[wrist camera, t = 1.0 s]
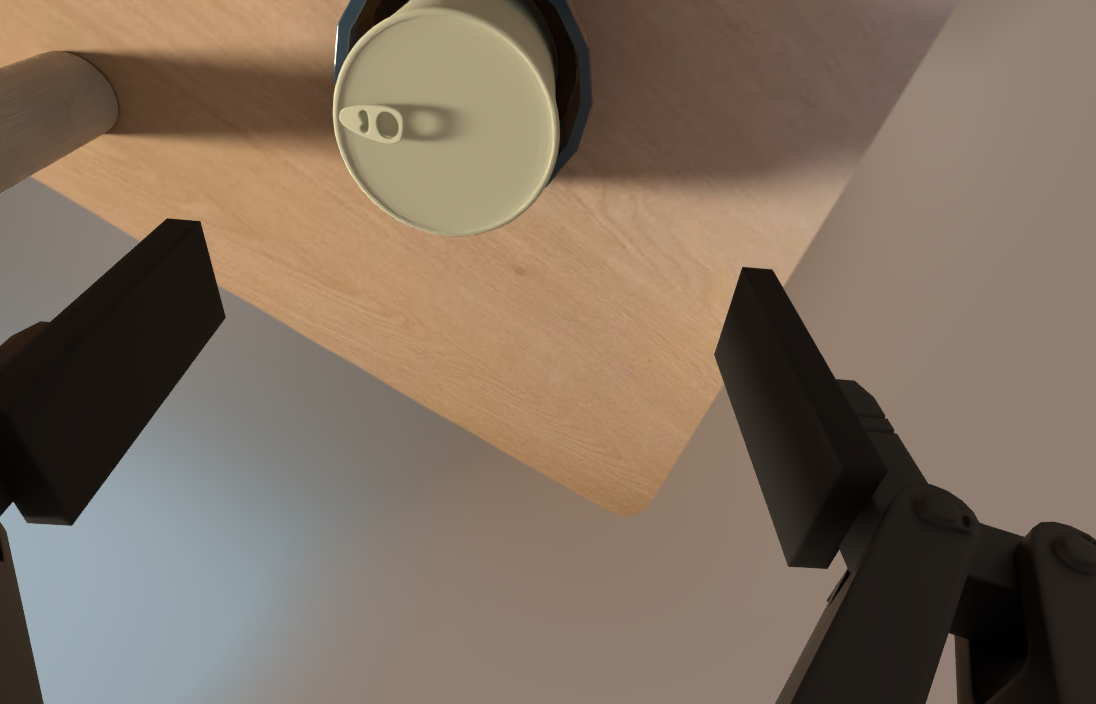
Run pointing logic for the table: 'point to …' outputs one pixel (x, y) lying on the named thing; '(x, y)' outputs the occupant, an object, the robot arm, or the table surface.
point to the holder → (572, 126)
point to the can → (451, 113)
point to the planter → (50, 112)
